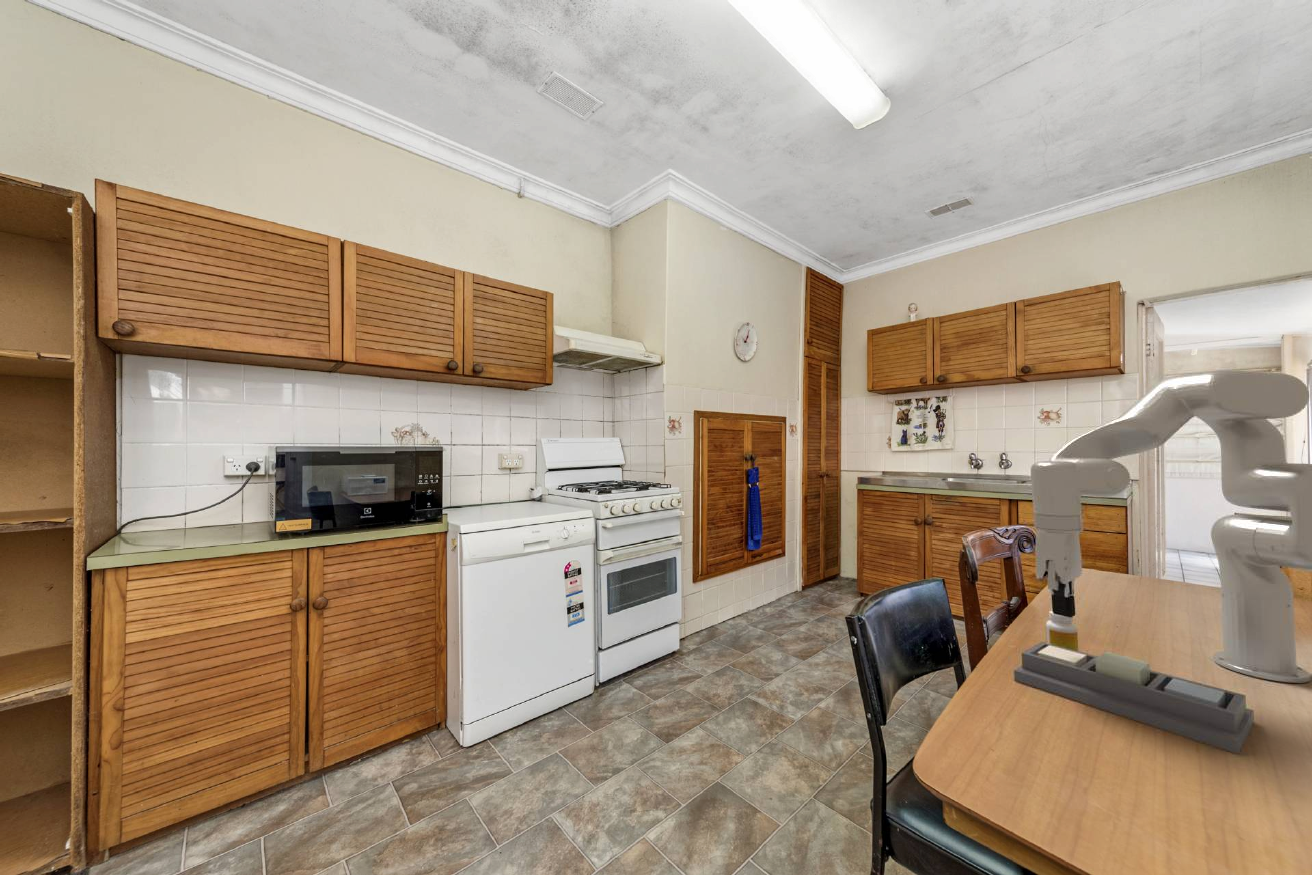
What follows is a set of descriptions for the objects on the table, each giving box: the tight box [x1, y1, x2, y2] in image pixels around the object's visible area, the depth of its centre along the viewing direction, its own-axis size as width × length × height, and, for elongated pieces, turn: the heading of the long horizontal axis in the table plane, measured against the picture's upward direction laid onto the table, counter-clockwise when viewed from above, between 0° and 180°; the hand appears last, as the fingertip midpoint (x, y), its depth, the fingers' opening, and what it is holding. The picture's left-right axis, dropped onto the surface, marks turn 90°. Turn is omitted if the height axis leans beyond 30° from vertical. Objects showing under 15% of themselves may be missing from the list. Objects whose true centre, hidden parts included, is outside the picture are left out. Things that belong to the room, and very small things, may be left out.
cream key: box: [1038, 645, 1087, 668], centre depth 98 cm, size 6×6×3 cm
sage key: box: [1095, 651, 1151, 686], centre depth 90 cm, size 6×6×3 cm
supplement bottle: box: [1045, 610, 1079, 651], centre depth 108 cm, size 5×5×10 cm
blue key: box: [1164, 678, 1226, 709], centre depth 83 cm, size 6×6×3 cm
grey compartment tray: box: [1013, 641, 1255, 755], centre depth 90 cm, size 15×29×5 cm, turn 33°
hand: (1064, 614), depth 98 cm, fingers closed
